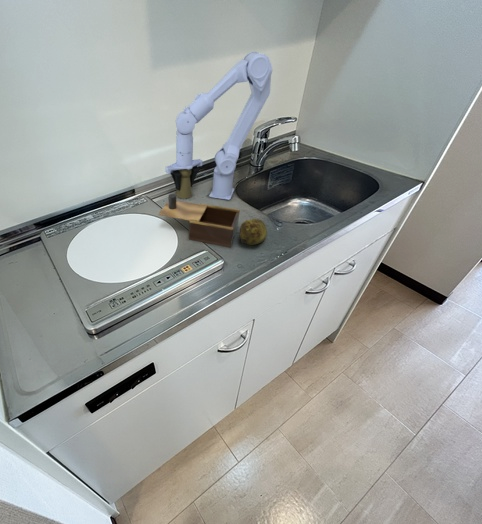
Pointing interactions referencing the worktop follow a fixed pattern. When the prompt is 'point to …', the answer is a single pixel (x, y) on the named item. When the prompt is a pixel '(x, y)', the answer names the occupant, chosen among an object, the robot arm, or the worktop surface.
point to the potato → (253, 231)
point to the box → (215, 226)
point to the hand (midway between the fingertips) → (184, 187)
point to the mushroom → (185, 184)
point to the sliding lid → (182, 209)
